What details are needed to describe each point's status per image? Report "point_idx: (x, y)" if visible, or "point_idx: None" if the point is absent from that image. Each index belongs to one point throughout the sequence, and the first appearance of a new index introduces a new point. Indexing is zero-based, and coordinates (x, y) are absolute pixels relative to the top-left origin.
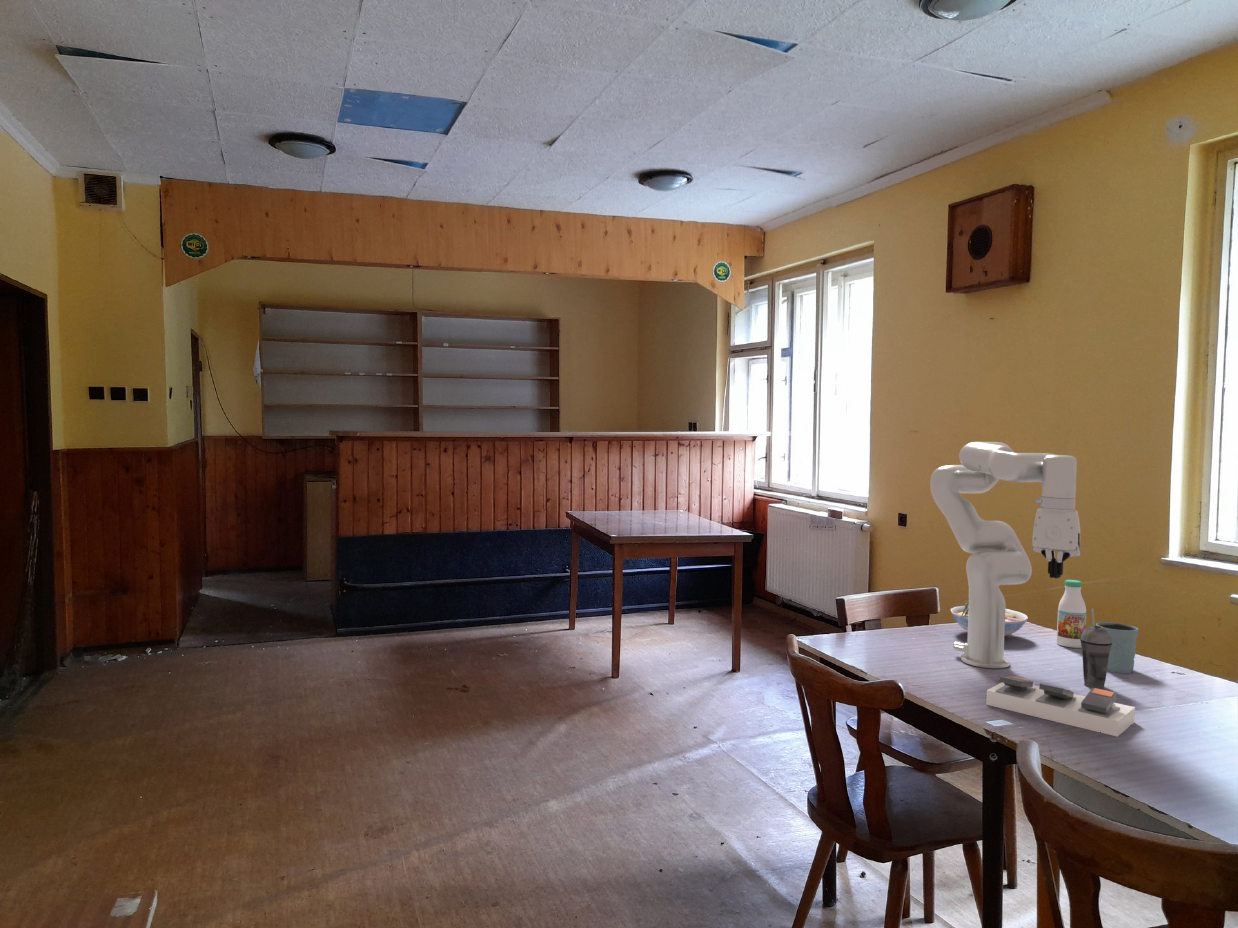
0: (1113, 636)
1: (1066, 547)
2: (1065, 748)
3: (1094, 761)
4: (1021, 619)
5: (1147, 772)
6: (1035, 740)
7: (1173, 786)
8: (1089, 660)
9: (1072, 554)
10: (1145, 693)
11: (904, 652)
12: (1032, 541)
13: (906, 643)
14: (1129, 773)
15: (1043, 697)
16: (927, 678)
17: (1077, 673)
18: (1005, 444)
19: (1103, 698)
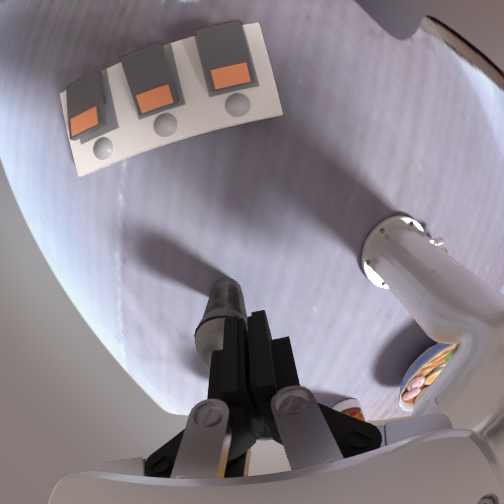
0: None
1: (90, 500)
2: (91, 3)
3: (58, 9)
4: (405, 403)
5: (22, 42)
6: None
7: (4, 43)
8: (223, 300)
9: (128, 471)
10: (169, 317)
11: (477, 192)
12: (496, 458)
13: (488, 238)
14: (30, 23)
15: (169, 64)
16: (397, 82)
17: (278, 324)
18: None
19: (77, 107)
